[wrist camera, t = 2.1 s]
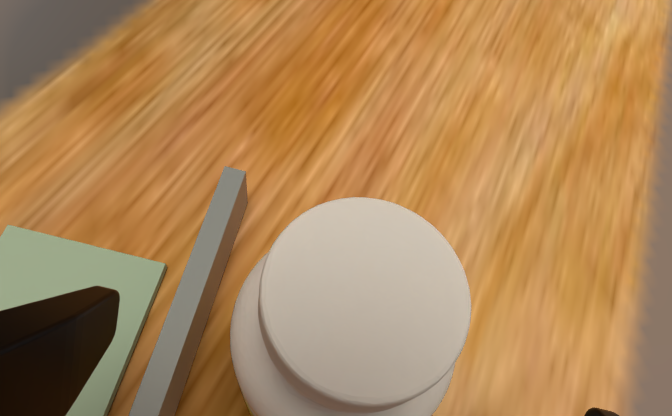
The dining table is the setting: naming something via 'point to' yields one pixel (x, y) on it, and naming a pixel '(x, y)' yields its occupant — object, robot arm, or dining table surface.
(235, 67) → the dining table surface
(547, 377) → the dining table surface
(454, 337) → the supplement bottle
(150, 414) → the acrylic wall
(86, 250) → the coaster
